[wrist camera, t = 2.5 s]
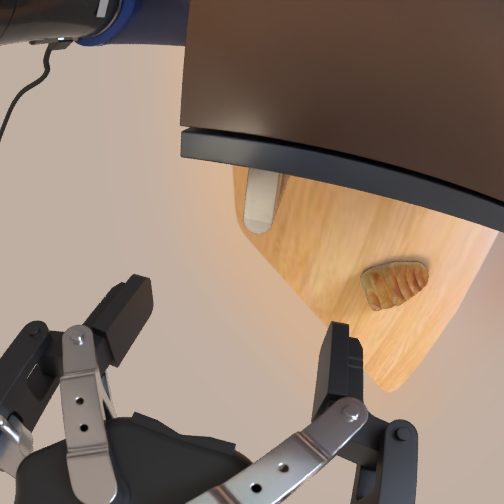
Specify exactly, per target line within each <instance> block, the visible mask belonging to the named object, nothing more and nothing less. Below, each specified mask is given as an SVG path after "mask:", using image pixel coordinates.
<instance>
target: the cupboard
mask: <svg viewBox="0 0 504 504" xmlns="http://www.w3.org/2000/svg"><path fill="white" fill-rule="evenodd" d="M180 126H187V127H196V128H205V129H213V130H221V131H229V132H236V133H243V134H250V135H256V136H263V137H269V138H275V139H280V140H286V141H291V142H297V143H302V144H307V145H312V146H317V147H322V148H326V149H331V150H335V151H340V152H344V153H349V154H353V155H357V156H361V157H365V158H369V159H373V160H377V161H381V162H384V163H388V164H392V165H395V166H399V167H403V168H406V169H409V170H413V171H416V172H420V173H423V174H426V175H429V176H433V177H436V178H439V179H442V180H445V181H448V182H451V183H454V184H457V185H460V186H463V187H466V188H468V189H471V190H474V191H477V192H480V193H482V194H485V195H488V196H490V197H493V198H495V199H498V200H501V201H503V202H504V0H190V7H189V16H188V25H187V34H186V45H185V58H184V69H183V82H182V97H181V115H180Z"/></svg>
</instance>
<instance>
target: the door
mask: <svg viewBox="0 0 504 504" xmlns="http://www.w3.org/2000/svg"><path fill="white" fill-rule="evenodd" d="M181 157H184V158H191V159H198V160H205V161H212V162H218V163H225V164H231V165H237V166H243V167H249V170H248V179H247V188H246V197H245V207H244V216H243V222H244V225H245V227H246V228H247V229H248V230H249V231H250V232H252V233H255V234H263V233H266V232H267V231H269V229H270V228H271V226H272V223H273V221H274V218H275V215H276V212H277V210H278V207H279V204H280V202H281V199H282V196H283V193H284V191H285V188H286V185H287V182H288V180H289V177H290V175H292V176H297V177H302V178H307V179H311V180H316V181H321V182H325V183H330V184H334V185H339V186H343V187H347V188H352V189H356V190H360V191H364V192H368V193H372V194H376V195H380V196H384V197H388V198H392V199H396V200H399V201H403V202H407V203H410V204H414V205H418V206H421V207H425V208H428V209H432V210H435V211H438V212H442V213H445V214H448V215H452V216H455V217H458V218H461V219H464V220H468V221H471V222H474V223H477V224H480V225H483V226H486V227H489V228H492V229H495V230H498V231H501V232H504V202H503V201H501V200H498V199H495V198H493V197H490V196H488V195H485V194H482V193H480V192H477V191H474V190H471V189H468V188H466V187H463V186H460V185H457V184H454V183H451V182H448V181H445V180H442V179H439V178H436V177H433V176H429V175H426V174H423V173H420V172H416V171H413V170H409V169H406V168H403V167H399V166H395V165H392V164H388V163H384V162H381V161H377V160H373V159H369V158H365V157H361V156H357V155H353V154H349V153H344V152H340V151H335V150H331V149H326V148H322V147H317V146H312V145H307V144H302V143H297V142H291V141H286V140H280V139H275V138H269V137H263V136H256V135H250V134H243V133H236V132H229V131H221V130H213V129H205V128H196V127H190V128H188V129H186V130H184V131H182V132H181Z"/></svg>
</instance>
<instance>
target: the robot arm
mask: <svg viewBox="0 0 504 504" xmlns="http://www.w3.org/2000/svg"><path fill="white" fill-rule="evenodd" d="M123 2H124V0H0V46H1V45H6V44H12V43H19V42H27V41H29V43H30V44H31V45H36V44H45V43H48V44H49V45H48V47H47V50H46V52H45V55H44V59H43V63H44V68H45V71H44V73H43V75H42V76H41V77H40V78H39V79H37V80H36V81H34V82H32V83H31V84H29V85H27V86H26V87H24V88H23V89H22V90H21V91H20V92H19V93H18V94H17V95H16V97H15V98H14V100H13V102H12V103H11V105H10V107H9V109H8V112H7V114H6V116H5V119H4V122H3V124H2V127H1V130H0V141H1V138H2V135H3V132H4V130H5V127H6V125H7V122H8V120H9V117H10V115H11V112H12V110H13V108H14V106H15V104H16V103H17V101H18V100H19V98H20V97H21V96H22V95H23V94H24V93H25V92H26V91H28V90H30V89H31V88H33V87H35V86H36V85H38V84H40V83H41V82H42V81H43V80H44V79H45V78H46V77H47V75H48V74H49V72H50V65H49V57H50V54H51V51H52V50H59V49H66V48H67V47H68V46H69V45H70V44H71V43H72V42H73V41H81V40H82V39H83V38H92V37H96V36H99V35H101V34H103V33H104V32H106V31H107V30H108V29H109V28H110V27H111V26H112V25H113V24H114V23H115V21H116V20H117V18H118V17H119V15H120V13H121V10H122V7H123ZM152 310H153V296H152V288H151V280H150V278H147V277H143V276H140V275H136V274H133V275H132V276H131V277H130V278H129V279H128V281H127V282H126V283H123V282H121V283H119V284H118V285H116V286H114V287H113V288H112V289H111V290H110V291H109V292H108V293H107V295H106V297H104V299H103V300H102V301H101V303H99V305H98V306H97V307H96V308H95V310H94V311H93V312H92V313H91V314H90V316H89V317H88V318H87V320H86V321H85V322H84V323H83V324H82V325H75V326H72V327H70V328H69V329H67V330H66V331H65V332H59V331H49V329H48V327H47V325H46V324H45V323H44V322H42V321H32V322H30V323H28V324H27V325H26V326H25V327H24V328H23V329H22V330H21V332H20V333H19V334H18V336H17V337H16V338H15V339H14V341H13V342H12V344H11V345H10V346H9V348H8V349H7V350H6V352H5V353H4V354H3V356H2V357H1V358H0V471H3V472H6V473H8V474H9V475H11V476H12V477H14V478H15V479H16V495H15V501H14V504H280V503H281V502H283V501H284V500H286V499H287V498H288V497H289V496H291V495H292V494H293V493H294V492H296V491H297V490H298V489H299V488H300V487H301V486H303V485H304V484H305V483H306V482H307V481H308V480H309V479H311V478H312V477H313V476H314V475H315V474H316V473H318V472H319V471H320V470H321V469H322V468H323V467H324V466H325V465H326V464H327V463H329V462H330V461H331V460H332V459H333V458H334V457H335V456H336V455H338V456H340V457H342V458H345V459H347V460H349V461H352V462H354V463H356V464H357V467H356V474H355V480H354V486H353V492H352V498H351V503H350V504H415V496H416V483H417V463H418V462H417V461H418V433H417V430H416V428H415V427H414V426H413V425H412V424H411V423H410V422H408V421H406V420H400V419H399V420H394V421H392V422H391V423H388V422H386V421H383V420H381V419H379V418H376V417H375V416H373V415H371V414H370V413H369V412H368V410H367V408H366V406H365V405H364V402H363V348H362V346H361V344H360V342H359V340H358V339H357V338H352V337H349V324H345V323H339V322H334V321H331V323H330V325H329V328H328V331H327V333H326V336H325V338H324V341H323V344H322V347H321V350H320V355H319V362H318V372H317V381H316V389H315V397H314V404H313V412H312V419H311V422H312V423H311V424H310V425H309V426H307V427H306V428H305V429H304V430H302V431H301V432H296V433H294V434H293V435H291V436H290V437H289V438H287V439H286V440H285V441H283V442H282V443H281V444H279V445H278V446H277V447H276V448H274V449H273V450H271V451H270V452H269V453H267V454H266V455H265V456H263V457H262V458H260V459H259V460H257V461H256V462H255V463H252V462H251V461H250V460H249V459H248V458H247V457H246V456H244V455H243V454H241V453H240V452H238V451H236V450H235V446H236V444H234V443H230V442H226V441H223V440H219V439H215V438H212V437H203V436H189V435H181V434H178V433H177V432H175V431H174V430H172V429H171V428H169V427H167V426H166V425H164V424H163V423H161V422H159V421H158V420H156V419H153V418H150V417H147V416H145V415H142V414H140V413H137V412H134V414H133V416H132V417H118V418H117V415H116V412H115V409H114V406H113V402H112V397H111V392H110V386H109V381H108V376H107V371H106V369H107V368H108V366H109V364H110V365H112V366H115V367H118V366H119V365H120V363H121V362H122V360H123V358H124V357H125V355H126V354H127V352H128V350H129V349H130V347H131V345H132V344H133V342H134V341H135V339H136V338H137V336H138V334H139V333H140V331H141V330H142V328H143V326H144V325H145V323H146V322H147V320H148V319H149V317H150V315H151V313H152ZM36 364H37V365H36ZM35 365H36V366H35ZM34 366H35V368H34ZM33 368H34V369H33ZM32 369H33V371H32ZM31 371H32V372H31ZM30 372H31V374H30ZM29 374H30V375H29ZM28 376H29V377H28ZM27 377H28V378H27ZM59 383H60V391H61V403H62V412H63V421H64V429H65V436H66V439H64V440H62V441H59V442H57V443H55V444H52V445H50V446H47V447H45V448H42V449H41V450H38V451H35V452H33V453H31V452H32V451H33V437H32V434H31V433H32V431H33V429H34V427H35V426H36V424H37V422H38V420H39V418H40V416H41V415H42V413H43V411H44V409H45V407H46V406H47V404H48V402H49V400H50V399H51V397H52V395H53V393H54V392H55V390H56V388H57V387H58V385H59Z"/></svg>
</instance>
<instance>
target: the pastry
mask: <svg viewBox="0 0 504 504" xmlns="http://www.w3.org/2000/svg"><path fill="white" fill-rule="evenodd" d="M428 277H429V275H428V269H427V267H426V266H424V265H423V264H421V263H419V262H414V261H413V262H409V261H407V262H399V261H394V262H392V263H386V264H383V265H380V266H377V267H372V268H370V269H368V270H367V271H365V272H364V273H362V275H361V282H362V285H363V287H364V289H365V292H366V296H367V299H368V302H369V305H370V307H371V308H372V309H373V310H374V311H379V310H381V309H387V308H392V307H393V306H398V305H401V304H402V303H404V302H405V301H407V300H409V299H410V298H411V297H412V296H414V295H415V294H417V293H418V292H419V291H421V290H422V288H424V287H425V286H426V284H427V282H428Z"/></svg>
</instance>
